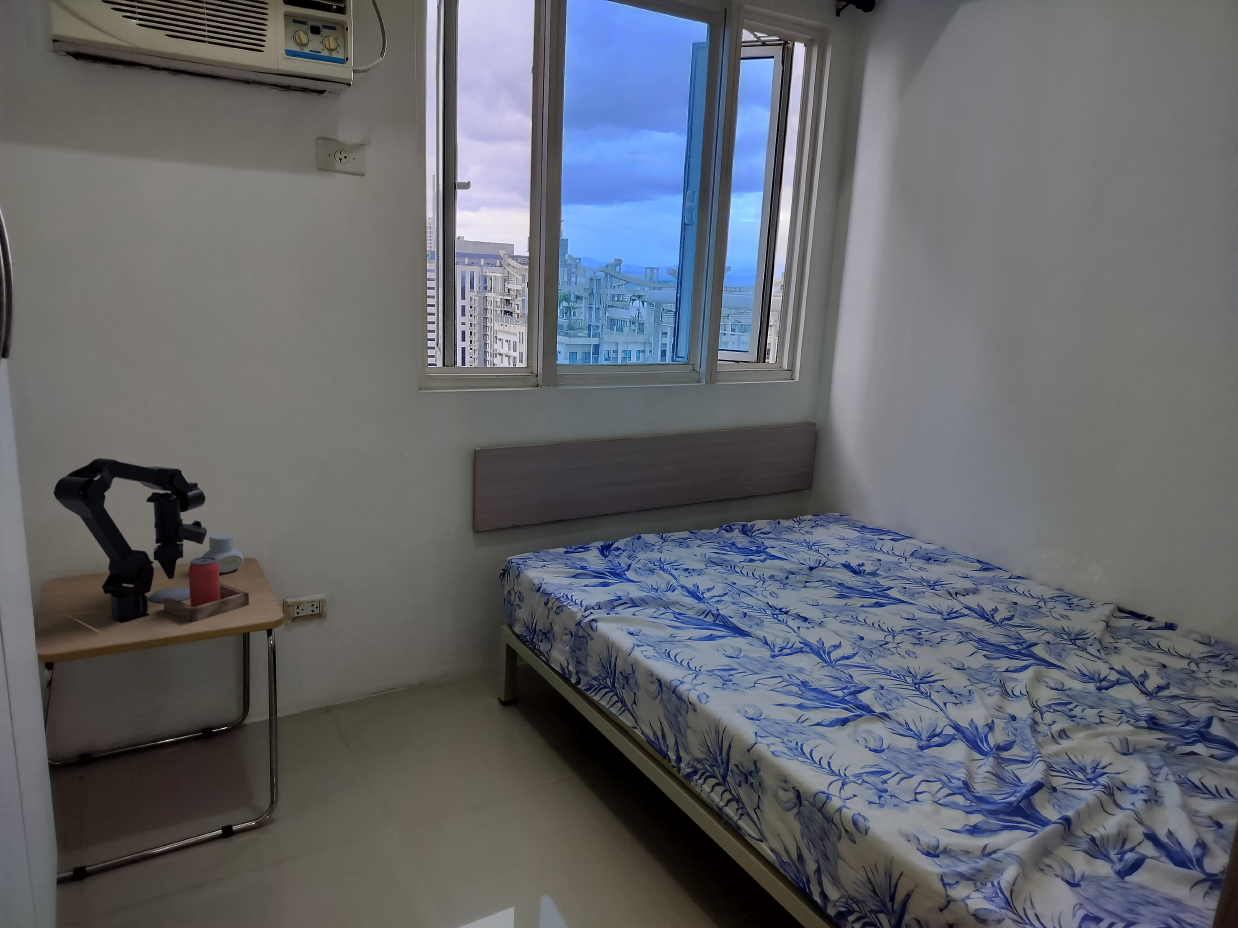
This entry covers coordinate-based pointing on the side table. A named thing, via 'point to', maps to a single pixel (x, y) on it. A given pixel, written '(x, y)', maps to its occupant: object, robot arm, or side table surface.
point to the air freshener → (224, 552)
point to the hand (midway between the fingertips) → (171, 576)
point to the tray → (209, 604)
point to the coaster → (171, 594)
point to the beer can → (204, 581)
